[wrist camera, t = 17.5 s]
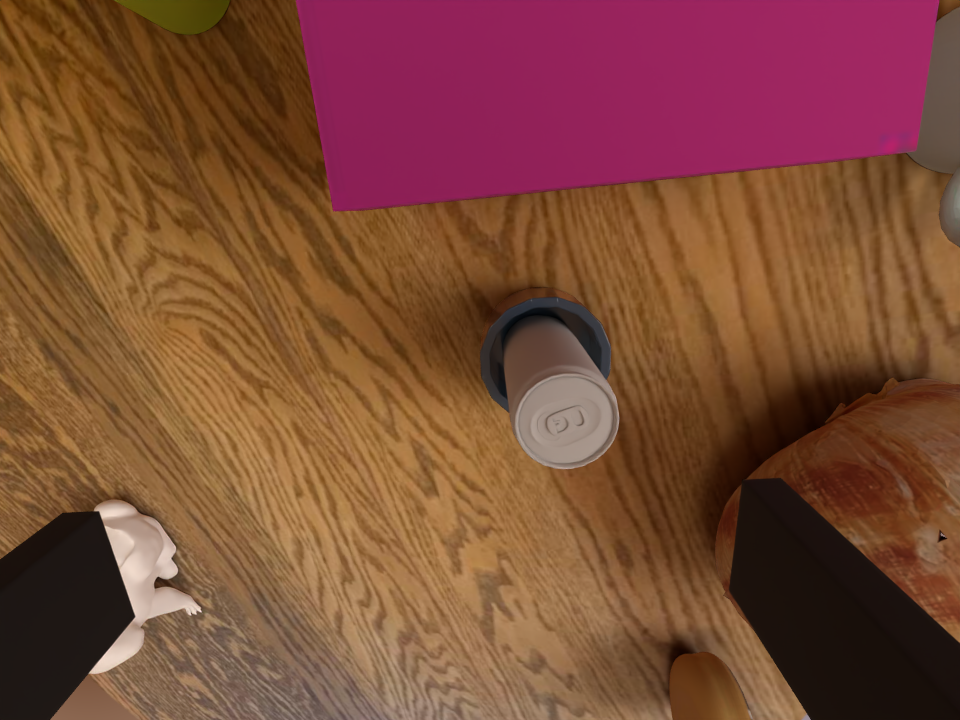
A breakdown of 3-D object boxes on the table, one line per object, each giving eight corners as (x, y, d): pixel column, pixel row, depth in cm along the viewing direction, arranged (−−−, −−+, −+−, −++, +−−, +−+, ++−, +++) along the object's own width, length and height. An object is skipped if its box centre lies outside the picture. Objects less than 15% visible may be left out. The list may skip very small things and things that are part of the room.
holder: (537, 261, 32) (544, 269, 28) (620, 340, 33) (638, 358, 29) (457, 348, 33) (453, 366, 30) (539, 419, 35) (546, 445, 31)
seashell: (822, 285, 30) (1191, 393, 17) (986, 407, 37) (1335, 552, 24) (629, 539, 35) (789, 782, 22) (806, 603, 42) (1009, 814, 29)
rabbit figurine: (204, 613, 40) (121, 733, 31) (116, 621, 41) (7, 743, 31) (158, 484, 37) (48, 577, 28) (62, 495, 37) (-79, 590, 28)
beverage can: (491, 327, 32) (495, 392, 21) (561, 301, 32) (604, 353, 20) (515, 391, 34) (532, 485, 22) (583, 367, 33) (636, 452, 22)
